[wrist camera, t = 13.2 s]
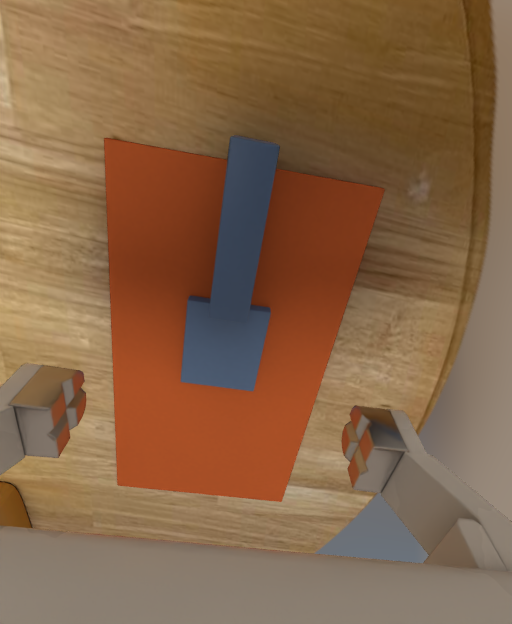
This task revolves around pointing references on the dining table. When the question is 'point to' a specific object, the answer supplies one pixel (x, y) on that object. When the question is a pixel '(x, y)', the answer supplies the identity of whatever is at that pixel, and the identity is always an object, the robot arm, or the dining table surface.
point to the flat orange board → (198, 282)
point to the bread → (12, 507)
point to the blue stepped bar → (233, 277)
